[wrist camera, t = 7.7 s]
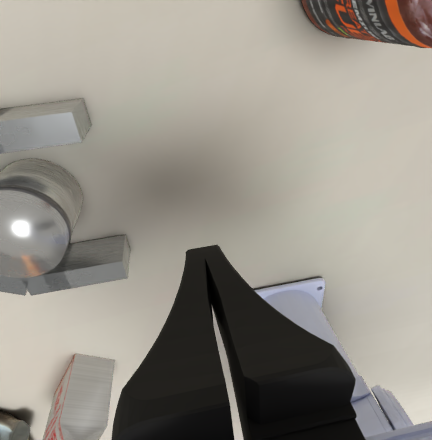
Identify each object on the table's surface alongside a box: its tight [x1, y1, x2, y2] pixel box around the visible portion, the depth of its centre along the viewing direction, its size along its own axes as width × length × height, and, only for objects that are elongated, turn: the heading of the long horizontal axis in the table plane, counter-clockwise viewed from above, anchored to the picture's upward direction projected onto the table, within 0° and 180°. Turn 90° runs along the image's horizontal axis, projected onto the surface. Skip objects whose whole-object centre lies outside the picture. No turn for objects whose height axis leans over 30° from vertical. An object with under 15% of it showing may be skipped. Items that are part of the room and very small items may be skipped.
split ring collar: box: [0, 99, 130, 295], centre depth 19 cm, size 11×10×3 cm
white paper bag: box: [43, 353, 115, 440], centre depth 27 cm, size 4×7×10 cm, turn 150°
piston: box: [0, 159, 83, 278], centre depth 18 cm, size 5×5×5 cm
